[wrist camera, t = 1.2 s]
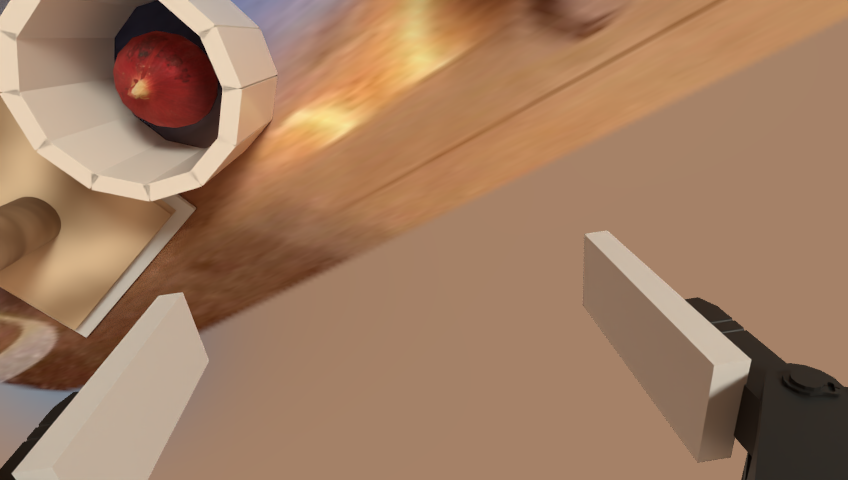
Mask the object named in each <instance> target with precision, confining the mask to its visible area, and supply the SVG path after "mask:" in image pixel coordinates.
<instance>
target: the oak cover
mask: <svg viewBox="0 0 848 480" xmlns="http://www.w3.org/2000/svg"><path fill="white" fill-rule="evenodd" d="M0 93H3V92H0ZM37 150H38V149H37ZM37 150H34V148H33V147H32V145H31V144H30V142H29V140H28V139H27V137H26V136H25V134H24V132H23V131H22V129H21V128H20V126H19V124H18V123H17V121H16V120H15V118H14V116H13V115H12V113H11V112H10V110H9V108H8V107H7V105H6V104H5V102H4V100H3V99H2V97H1V96H0V287H1V288H3V289H5V290H7V291H8V292H10V293H12V294H13V295H15V296H17V297H18V298H20V299H22V300H24V301H25V302H27V303H29V304H30V305H32V306H34V307H35V308H37V309H39V310H41V311H42V312H44V313H46V314H47V315H49V316H51V317H53V318H54V319H56V320H58V321H59V322H61V323H63V324H64V325H66V326H68V327H70V328H71V329H73V330H76V329H77V328H78V327H79V326H80V325H81V324H82V323H83V322H84V320H85V319H86V318H87V317H88V316H89V314H90V313H91V312H92V311H93V310H94V308H95V307H96V306H97V305H98V304H99V302H100V301H101V300H102V299H103V298H104V296H105V295H106V294H107V293H108V292H109V290H110V289H111V288H112V287H113V286H114V285H115V283H116V282H117V281H118V280H119V279H120V277H121V276H122V275H123V274H124V273H125V271H126V270H127V269H128V268H129V267H130V265H131V264H132V263H133V262H134V261H135V259H136V258H137V257H138V256H139V255H140V253H141V252H142V251H143V250H144V249H145V247H146V246H147V245H148V244H149V243H150V241H151V240H152V239H153V238H154V237H155V235H156V234H157V233H158V232H159V231H160V229H161V228H162V227H163V226H164V225H165V224H166V222H167V221H168V220H169V219H170V218H171V216H172V215H173V214H174V213H175V212H176V210H175V209H174V208H172V207H171V206H170V205H168V204H167V203H165V202H164V201H163V200H161V199H158V200H154V201H144V200H139V199H134V198H129V197H124V196H119V195H114V194H109V193H104V192H99V191H94V190H92V188H91V189H89V188H87V187H86V186H84V185H83V184H82V183H80V182H79V181H77V180H76V179H74V178H73V177H72V176H70V175H69V174H67V173H66V172H64V171H63V170H61V169H60V168H59V167H57V166H56V165H54V164H53V163H51V162H50V161H49V160H47V159H46V158H44V157H43V156H41V155H40V154H39V153H37Z"/></svg>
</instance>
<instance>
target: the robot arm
mask: <svg viewBox="0 0 848 480" xmlns="http://www.w3.org/2000/svg"><path fill="white" fill-rule="evenodd" d="M583 276H584V277H583V306H584V307H585V309H586V310H587V312H588V313H589V314H590V316H591V317H592V318H593V320H594V321H595V323H596V324H597V325H598V327H599V328H600V329H601V331H602V332H603V334H604V335H605V336H606V338H607V339H608V340H609V342H610V343H611V345H612V346H613V347H614V349H615V350H616V351H617V353H618V354H619V356H620V357H621V358H622V359H623V361H624V362H625V364H626V365H627V366H628V368H629V369H630V371H631V372H632V373H633V375H634V376H635V377H636V379H637V380H638V382H639V383H640V384H641V386H642V387H643V388H644V390H645V391H646V393H647V394H648V395H649V397H650V398H651V399H652V401H653V402H654V404H655V405H656V406H657V408H658V409H659V410H660V412H661V413H662V414H663V416H664V417H665V419H666V420H667V421H668V423H669V424H670V425H671V427H672V428H673V430H674V431H675V432H676V434H677V435H678V436H679V438H680V439H681V441H682V442H683V443H684V445H685V446H686V447H687V449H688V450H689V451H690V453H691V454H692V456H693V457H694V458H695V460H696V461H697V462H698V463H699V462H705V461H711V460H717V459H724V458H730V457H731V454H732V448H733V444H734V440H735V438H736V439H737V440H738V441H739V442H740V443H741V445H742V446H743V447H744V448H745V449H746V450H747V452H748V453H747V458H746V462H745V466H744V471H743V475H742V480H848V387H844V386H842V385H841V384H840V383H839V382H838V381H837V380H836V379H834V378H833V377H831V376H830V375H828V374H826V373H824V372H822V371H820V370H817V369H815V368H812V367H808V366H805V365H799V364H792V363H788V364H787V363H785V362H784V361H783V360H782V359H781V358H779V357H778V356H777V355H776V354H775V353H773V352H772V351H771V350H770V349H768V348H767V347H766V346H765V345H764V344H762V343H761V342H760V341H759V340H758V339H756V338H755V337H754V336H753V335H752V334H750V333H749V332H748V331H747V330H746V331H744V329H743V327H742V326H741V325H739V324H738V323H737V322H736V321H733V320H732V318H731V317H730V316H729V315H727V314H726V313H725V312H724V311H723V310H721V309H720V308H719V307H718V306H716V305H713V304H711V303H709V302H707V301H705V300H703V299H700V298H691V299H683V298H682V297H681V296H680V295H679V294H678V293H676V292H675V291H674V290H673V289H672V288H671V287H670V286H669V285H667V284H666V283H665V282H664V281H663V280H662V279H661V278H660V277H659V276H657V275H656V274H655V273H654V272H653V271H652V270H651V269H649V267H647V266H646V265H645V264H644V263H643V262H642V261H641V260H639V259H638V258H637V257H636V256H635V255H634V254H633V253H632V252H631V251H629V250H628V249H627V248H626V247H625V246H624V245H623V244H622V243H621V242H619V241H618V240H617V239H616V238H615V237H614V236H613V235H612V234H611V233H609V232H608V231H602V232H595V233H588V234H584V275H583ZM208 362H209V359H208V357H207V354H206V352H205V349H204V347H203V344H202V341H201V339H200V336H199V333H198V331H197V328H196V326H195V323H194V320H193V318H192V315H191V313H190V310H189V308H188V305H187V302H186V300H185V297H184V295H183V292H182V293H175V294H168V295H161V296H158V297H157V298H156V300H155V301H154V302H153V303H152V304H151V306H150V307H149V308H148V309H147V310H146V312H145V313H144V314H143V315H142V317H141V318H140V319H139V320H138V321H137V323H136V324H135V325H134V326H133V327H132V329H131V330H130V331H129V332H128V333H127V335H126V336H125V337H124V338H123V339H122V341H121V342H120V343H119V344H118V346H117V347H116V348H115V349H114V350H113V352H112V353H111V354H110V355H109V356H108V358H107V359H106V360H105V361H104V362H103V364H102V365H101V366H100V367H99V368H98V370H97V371H96V372H95V373H94V375H93V376H92V377H91V378H90V379H89V381H88V382H87V383H86V384H85V385H84V387H83V388H82V389H81V390H80V391H79V392H73V393H72V394H71V395H69V396H68V397H67V398H65V399H64V400H63V401H62V402H60V403H59V404H58V405H56V406H55V407H54V408H53V409H52V410H51V411H50V412H49V413H48V414H47V415H46V417H45V418H44V419H43V420H42V421H41V423H40V424H39V427H38V428H35V429H34V431H33V432H32V433H31V434H30V435H29V436H28V438H27V441H26V442H24V443H22V445H21V446H20V447H19V448H18V449H17V450H16V451H15V453H14V454H13V455H12V456H11V457H10V458H9V460H8V461H7V462H6V463H5V464H4V465H3V467H2V468H1V469H0V480H148V479H149V477H150V475H151V473H152V471H153V469H154V467H155V465H156V463H157V461H158V459H159V457H160V455H161V453H162V451H163V449H164V448H165V445H166V444H167V442H168V440H169V438H170V436H171V434H172V432H173V430H174V428H175V426H176V424H177V422H178V420H179V418H180V416H181V415H182V412H183V410H184V409H185V407H186V405H187V403H188V401H189V399H190V397H191V395H192V393H193V391H194V389H195V387H196V385H197V383H198V381H199V379H200V377H201V376H202V374H203V372H204V370H205V367H206V366H207V364H208Z"/></svg>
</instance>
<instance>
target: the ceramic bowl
mask: <svg viewBox="0 0 848 480" xmlns="http://www.w3.org/2000/svg"><path fill="white" fill-rule="evenodd" d="M153 1H157V0H10V2H9V3H8V5H7V6H6V8H5V10H4V11H3V13H2V14H1V16H0V92H3V93H0V96H1V97H2V99H3V100H4V102H5V104H6V105H7V107H8V108H9V110H10V112H11V113H12V115H13V116H14V118H15V120H16V121H17V123H18V124H19V126H20V128H21V129H22V131H23V132H24V134H25V136H26V137H27V139H28V140H29V142H30V144H31V145H32V147H33V148H34V150H37V149H38V150H37V153H39V154H40V155H41V156H43V157H44V158H46V159H47V160H49V161H50V162H51V163H53V164H54V165H56V166H57V167H59V168H60V169H61V170H63V171H64V172H66V173H67V174H69V175H70V176H72V177H73V178H74V179H76V180H77V181H79V182H80V183H82V184H83V185H84V186H86V187H87V188H89V189H91V188H92V190H94V191H99V192H104V193H109V194H114V195H119V196H124V197H129V198H134V199H139V200H144V201H154V200H158V199H161V198H165V197H168V196H171V195H175V194H178V193H182V192H185V191H188V190H192V189H195V188H198V187H202V186H203V185H204V184H206V183H207V182H208V181H209V180H210V179H212V178H213V177H214V176H215V175H216V174H218V173H219V172H220V171H221V170H222V169H224V168H225V167H226V166H227V165H229V164H230V163H231V162H232V161H233V160H235V159H236V158H237V157H238V156H239V155H241V154H242V153H243V152H244V151H245V150H247V148H248V147H249V146H250V145H251V144H252V143H253V141H254V140H255V139H256V138H257V137H258V135H259V134H260V133H261V132H262V131H263V130H264V128H265V127H266V126H267V125H268V124H269V123H270V121H271V119H272V118H273V110H274V103H275V95H276V88H277V80H278V76H276V75H278V73H277V71H276V68H275V66H274V63H273V60H272V58H271V55H270V53H269V50H268V47H267V45H266V42H265V39H264V37H263V34H262V32H261V29H259V27H258V26H257V25H256V24H255V23H254V22H253V21H252V20H251V19H250V18H249V17H248V16H247V15H245V14H244V13H243V12H242V11H241V10H240V9H239V8H238V7H237V6H236V5H235V4H234V3H233V2H231V1H230V0H159V1H160V2H161V3H162V4H163V5H165V6H166V7H167V8H168V9H169V10H170V11H171V12H173V13H174V14H175V15H176V16H177V17H178V18H179V19H180V20H182V21H183V22H184V23H185V24H186V25H187V26H188V27H190V28H191V29H192V30H193V31H194V32H195V33H196V34H198V35H199V36H200V38H201V40H202V43H203V45H204V47H205V49H206V52H207V54H208V56H209V59H210V61H211V63H212V66H213V68H214V70H215V73H216V75H217V77H218V79H219V82H220V84H221V86H222V89H223V90H222V101H221V111H220V122H219V133H218V138H217V139H216V141H215V142H214V143H213V144H212V145H211V147H207V148H204V149H203V148H199V147H194V146H190V145H185V144H181V143H176V142H172V141H167V140H165V139H164V138H163V137H161V136H160V135H159V134H158V133H156V132H155V131H154V130H152V129H151V128H150V127H149V126H147V125H146V124H145V123H143V122H142V121H141V120H140V119H138V118H137V117H136V116H134V115H133V113H132V111H131V110H130V109H129V108H128V107H126V106H125V105H124V104H123V102H122V100H121V98H120V96H119V94H118V92H117V90H116V88H115V81H114V75H113V68H114V48H115V36H116V35H117V34H118V32H119V31H120V29H121V28H122V27H123V25H124V24H125V22H126V21H127V19H128V18H129V17H130V15H131V14H132V12H133V11H134V10H135V8H136V7H137V6H141V5H144V4H147V3H150V2H153Z"/></svg>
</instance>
